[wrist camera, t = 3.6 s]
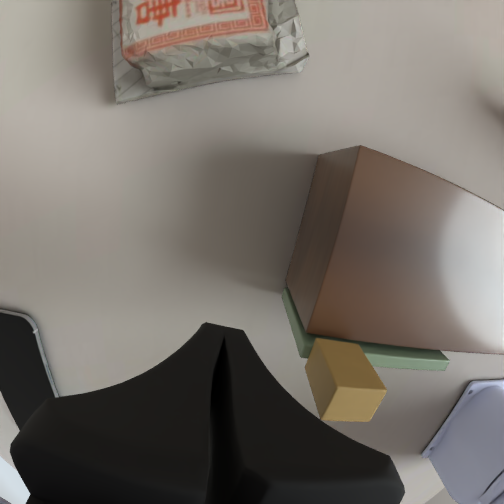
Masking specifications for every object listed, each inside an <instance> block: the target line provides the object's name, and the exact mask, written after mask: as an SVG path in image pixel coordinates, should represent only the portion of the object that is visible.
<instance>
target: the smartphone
mask: <svg viewBox="0 0 504 504" xmlns="http://www.w3.org/2000/svg"><path fill="white" fill-rule="evenodd" d="M0 391H1V393H2V396H3V398H4V400H5V402H6V404H7V406H8V408H9V410H10V412H11V414H12V416H13V418H14V420H15V422H16V424H17V426H18V428H19V430H21V429H22V427H23V426H24V425H25V423H26V422H27V420H28V419H29V418H30V417H31V415H32V414H33V413H34V412H35V411H36V410H37V409H38V408H39V407H40V406H41V405H42V404H43V403H44V402H45V400H46V399H47V398H56V397H59V396H58V393H57V390H56V388H55V385H54V382H53V379H52V376H51V373H50V370H49V367H48V364H47V360H46V357H45V354H44V350H43V347H42V343H41V339H40V336H39V332H38V328H37V326H36V324H35V322H34V321H33V320H32V318H30V317H29V316H28V315H26V314H22V313H17V312H12V311H7V310H2V309H0Z"/></svg>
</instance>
